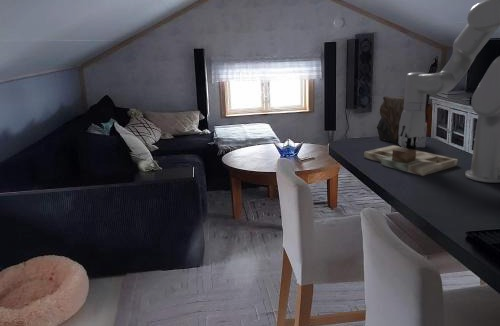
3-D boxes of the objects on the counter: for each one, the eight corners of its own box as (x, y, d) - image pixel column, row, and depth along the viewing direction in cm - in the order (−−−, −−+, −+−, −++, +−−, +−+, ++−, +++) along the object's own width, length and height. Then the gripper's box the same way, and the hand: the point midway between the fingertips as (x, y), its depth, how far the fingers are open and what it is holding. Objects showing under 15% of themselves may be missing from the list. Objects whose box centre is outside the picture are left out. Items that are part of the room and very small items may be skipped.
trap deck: (456, 165, 164) (457, 159, 164) (422, 175, 153) (423, 169, 152) (392, 150, 187) (393, 145, 187) (358, 158, 176) (359, 152, 175)
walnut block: (415, 160, 163) (416, 150, 162) (406, 163, 159) (407, 152, 158) (400, 157, 167) (401, 147, 166) (392, 160, 164) (392, 149, 163)
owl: (374, 138, 212) (377, 96, 207) (393, 135, 218) (396, 94, 213) (395, 143, 202) (398, 99, 196) (414, 139, 207) (417, 97, 202)
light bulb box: (421, 144, 198) (423, 120, 196) (425, 147, 192) (427, 123, 189) (397, 144, 200) (398, 120, 197) (400, 147, 193) (402, 123, 190)
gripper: (418, 103, 169) (414, 149, 174) (392, 107, 161) (389, 155, 166) (435, 105, 163) (431, 153, 168) (410, 109, 155) (406, 160, 160)
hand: (410, 154), depth 167 cm, fingers closed
